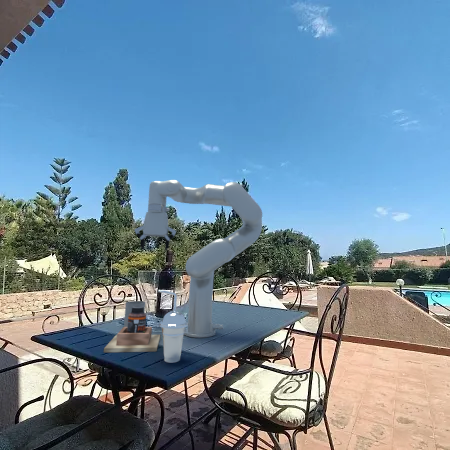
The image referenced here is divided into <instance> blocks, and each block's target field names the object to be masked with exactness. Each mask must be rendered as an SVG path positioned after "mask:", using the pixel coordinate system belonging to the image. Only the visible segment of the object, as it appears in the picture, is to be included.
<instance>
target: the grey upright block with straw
mask: <svg viewBox="0 0 450 450" xmlns="http://www.w3.org/2000/svg"><path fill="white" fill-rule="evenodd" d="M157 293H162V294H166V295H171V296H174V297H173V310H171V311H169V312H167V313H166V314H165V315H164V316H163V318H162V321H160V322H159V325H158V326H159V327H160V328H161V333H162V340H163V341H162V343H163V356H164V357H163V358H164V359H163V360H164V362H166V363H177V362H179V361H181V354H182V347H183V342H184V336H185V335H184V332H185V329H186V328H188V320H186V317H185V315H184V314H183V313H182V312H180V311H178V310H177V301H178V300H177V299H178V296H177V294H176V293H175V292H173V291H168V290H162V289H158V291H157Z"/></svg>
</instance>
